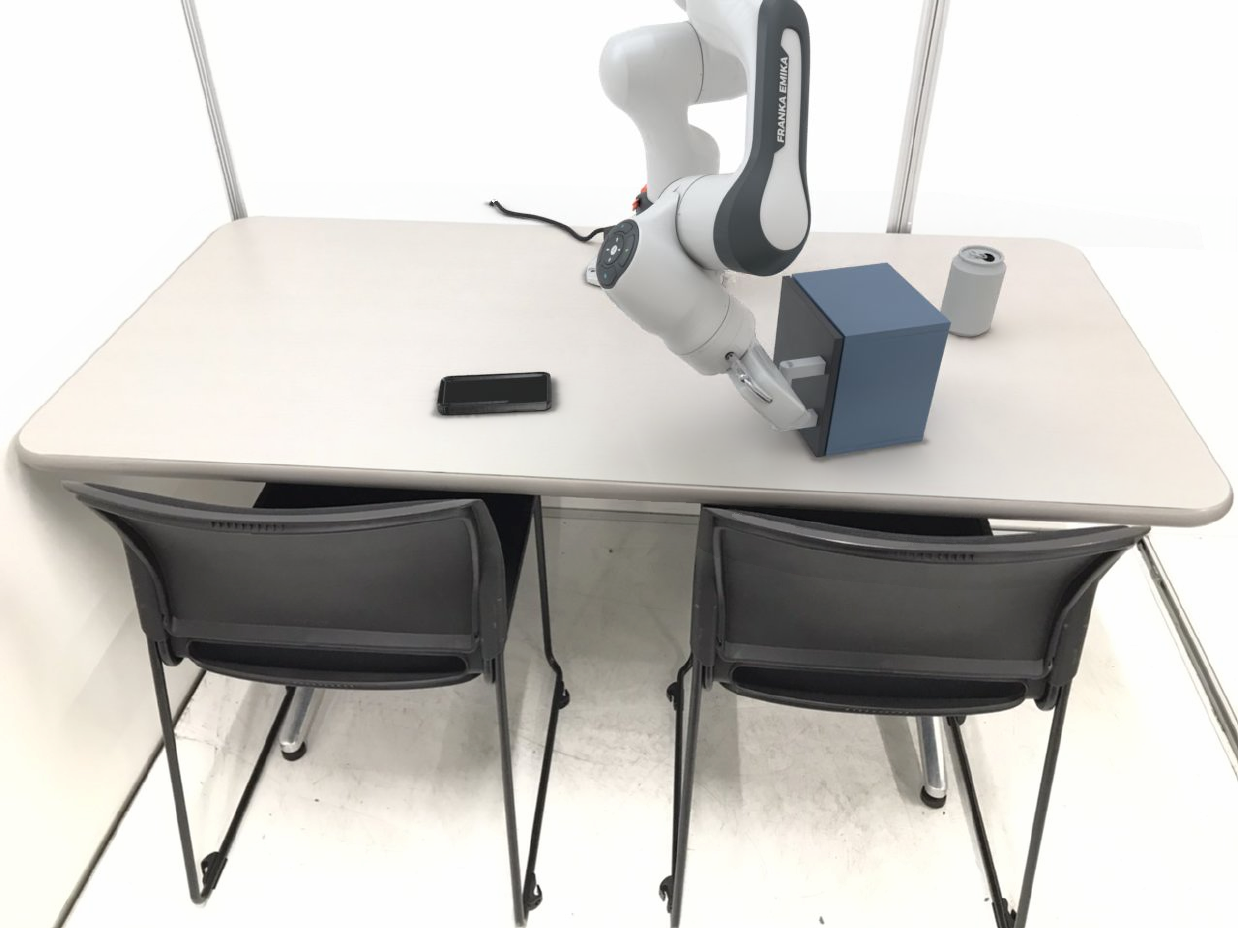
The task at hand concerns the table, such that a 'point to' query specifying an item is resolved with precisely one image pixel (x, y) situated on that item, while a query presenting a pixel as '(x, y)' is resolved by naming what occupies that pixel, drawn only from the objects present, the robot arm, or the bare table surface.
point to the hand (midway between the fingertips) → (789, 396)
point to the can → (973, 289)
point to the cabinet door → (807, 360)
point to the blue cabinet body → (878, 355)
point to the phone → (494, 393)
